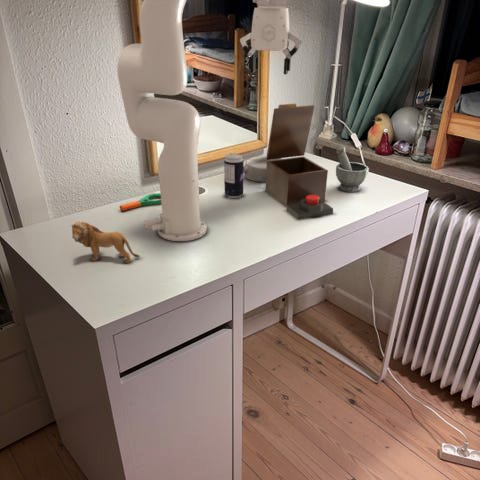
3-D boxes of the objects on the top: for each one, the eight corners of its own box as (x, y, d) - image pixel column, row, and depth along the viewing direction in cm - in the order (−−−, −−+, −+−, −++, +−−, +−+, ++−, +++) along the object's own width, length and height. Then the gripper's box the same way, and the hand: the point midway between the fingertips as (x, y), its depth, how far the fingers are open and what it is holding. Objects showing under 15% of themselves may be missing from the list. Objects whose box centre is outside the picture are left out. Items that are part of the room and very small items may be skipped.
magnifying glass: (159, 195, 148) (159, 190, 147) (171, 201, 144) (171, 195, 143) (115, 208, 139) (115, 202, 138) (127, 214, 136) (126, 208, 135)
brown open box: (324, 201, 144) (328, 170, 139) (286, 207, 140) (288, 175, 135) (301, 185, 155) (303, 156, 150) (265, 190, 151) (266, 160, 146)
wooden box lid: (315, 106, 138) (306, 97, 141) (275, 109, 134) (267, 100, 137) (304, 155, 150) (296, 146, 153) (267, 160, 146) (260, 150, 149)
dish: (290, 173, 166) (291, 158, 163) (277, 185, 155) (278, 170, 152) (251, 167, 170) (251, 153, 167) (236, 180, 160) (236, 164, 157)
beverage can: (243, 199, 146) (243, 158, 139) (224, 199, 146) (223, 158, 139) (243, 192, 150) (243, 153, 143) (225, 192, 150) (224, 152, 143)
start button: (309, 206, 133) (310, 200, 132) (303, 201, 136) (303, 195, 135) (321, 204, 134) (321, 198, 133) (314, 200, 137) (315, 194, 136)
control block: (299, 221, 132) (300, 208, 130) (286, 210, 138) (287, 198, 136) (334, 215, 136) (335, 203, 134) (320, 205, 142) (321, 193, 140)
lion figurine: (74, 263, 112) (66, 227, 107) (80, 252, 116) (73, 217, 111) (137, 263, 112) (133, 227, 107) (141, 253, 116) (137, 217, 111)
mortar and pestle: (371, 188, 153) (377, 149, 147) (354, 196, 148) (360, 156, 141) (341, 180, 160) (345, 142, 153) (324, 187, 154) (328, 148, 147)
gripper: (236, 1, 128) (236, 73, 138) (301, 2, 125) (296, 76, 134) (244, 0, 134) (243, 69, 144) (306, 1, 131) (301, 72, 140)
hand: (269, 73), depth 139 cm, fingers open, 9 cm apart
